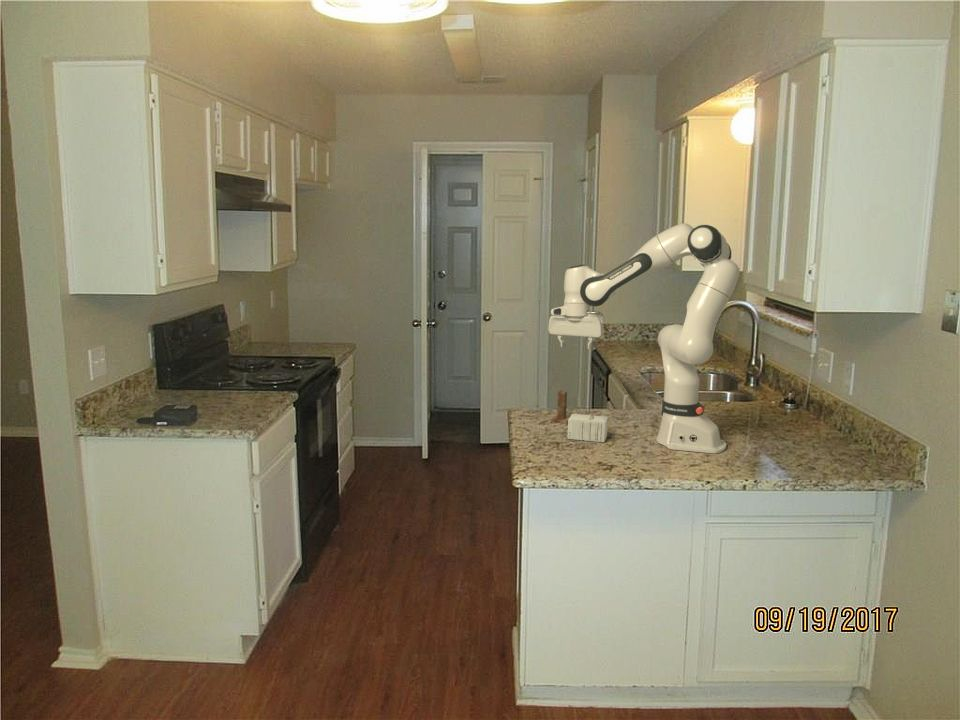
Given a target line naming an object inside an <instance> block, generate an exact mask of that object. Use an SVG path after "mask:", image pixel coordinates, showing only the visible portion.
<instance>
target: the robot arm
mask: <svg viewBox="0 0 960 720" xmlns="http://www.w3.org/2000/svg"><path fill="white" fill-rule="evenodd" d="M688 256H689V257H693V258H694V259H695V260H696V261H697V262H698V263H699V264H700V265H701V266H702V267H704V271H703V274H702V276H701V278H700V279H699V281H698V283H697V284H696V286H695V288H694V290H693V292H692V293H691V296H690V297H689V299H688V301H687V304H686V316H685V319H684V322H683V324H678V323H675V324H669V325H665V326H664V327H663V328H662V329H661V330H660V331H659V333H658V335H657V343H658V346H659V348H660V351H661V358H662V365H663V373H664V383H663V384H664V386H663V389H664V390H663V399H662V401H661V408H660V409H661V410H660V414H661V415H660V416H661V421H660V427H659V430H658V432H657V433H658V434H657V437H656V438H655V439H656V442H657V443H659V444H660V445H662V446H665V447H666V448H668V450H675V451H676V450H677V451H685V452H696V453H704V454H705V453H706V454H719V453H722V452H724V451H725V450H726V449H727V442H726V441H725V440H724V439H721V435H720V430H719V427H718V425H717V424H715V423H714V422H713V421H712V420H711V419H710V418H708V417H707V416H706V415H705V414H704V413H705V412H704V411H705V404H704V403H703V404H702V403H701V402H699V393H700V392H699V389H700V377H699V373H698V372H697V369H696V365H701V364H704V363H706V362H707V361H708V360H710V358H711V357H712V355H713V353H714V343H713V340H714V334H715V330H716V326H717V324H718V321H719V319H720V317H721V316H722V313H723V311H724V309H725V307H726V305H727V304H728V302H729V300H730V298H731V296H732V294H733V292H734V290H735V288H736V285H737V283H738V280H739V277H740V274H741V270H740V268H739V266H738V264H737V263H736V262H734V261H733V260H732V259H731V258H732V249H731V247H730V245H729V243H728V242H727V240H726V237H724V235H723V234H722V233H721V232H720V231H719V230H718V229H717V228H716V227H715V226H712V225H709V224H700V225H697V226H696V227H693V226H692V225H691V224H688V223H684V222H683V223H679V224H676V225H674V226H671V227H669V228H667V229H666V230H663V231H662V232H660V233H658V234H656V235H655V236H653V237H651V238H650V239H649V240H648V241H646V242H645V243H644V244H643V245H642V246H641V247H640V248H639V249H638V250H637V251H636V252H635V253H634V254H633V255H632V256H630V258H629V259H627V260H626V261H625V262H623V263H621V264H620V265H618V266H617V267H616V268H613V269H612V270H610V271H609V272H607V273H605V274H604V273H601V272H598V271H596V270H595V269H592V268H590V266H588V265H587V264H577V265H572V266H570V267H567V269H566V270H565V273H564V279H563V281H564V282H563V291H564V300H563V305H559V306H557V307H554V308H552V309H551V310H550V314H551V316H550V317H549V319H548V329H547V330H548V333H549V334H550V335H556V336H557V340H558V341H559V342H560V348H566V347H567V341H564V339H563V338H564V336H568V337H570V336H571V337H581V338H582V337H584V338H587V340H588V343H586V344H585V346H584V348H585V350H591V348H592V344H593V342H594V340H595V338H597V339H599V338H601V337H603V336H604V335H605V332H604V331H605V328H604V322H605V315H604V314H603V313H602V312H600V311H596V310H595V311H594V310H589V307H599V306H602V305H604V304H605V303H606V302H607V301H608V300H610V299H611V298H612V297H613V296H614V295H615V293H616V290H617V289H619V288H621V287H622V286H624V285H626V284H627V283H629V282H631V281H632V280H634V279H636V278H638V277H640V276H643V275H646V274H650V273H654V272H657V271H659V270H662V269H665V268H667V267H669V266H671V265H672V264H674V263H676V262H677V261H679V260H681V259H683V258H684V257H688Z"/></svg>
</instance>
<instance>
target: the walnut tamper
mask: <svg viewBox="0 0 960 720" xmlns="http://www.w3.org/2000/svg"><path fill="white" fill-rule="evenodd" d="M567 402H568V391H567V390H559V391H558V392H557V412H556V413H557V415H555V416H554V417H552V418H551V419H550V423H551V422H555V423H561V424H568V419H569V418H570V416H567V404H568V403H567ZM561 424H560V425H561Z"/></svg>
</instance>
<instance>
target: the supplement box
mask: <svg viewBox="0 0 960 720" xmlns="http://www.w3.org/2000/svg"><path fill="white" fill-rule="evenodd" d="M570 414H571V415H570V416H569V417H570V418H569V419H568V425H567V440H575V441H583V440H584V442H594V443H595V442H597V443H605V442H606V439H607V436H608V426H609V425H608V423H609V421H608V420H609V417H608V416H603V415H593V414H592V415H591V414H581V413H579V414H578V413H570Z"/></svg>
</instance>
